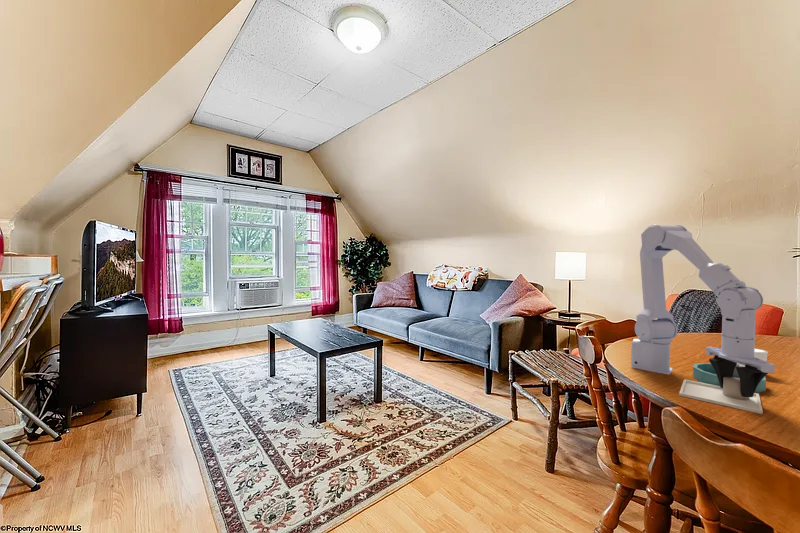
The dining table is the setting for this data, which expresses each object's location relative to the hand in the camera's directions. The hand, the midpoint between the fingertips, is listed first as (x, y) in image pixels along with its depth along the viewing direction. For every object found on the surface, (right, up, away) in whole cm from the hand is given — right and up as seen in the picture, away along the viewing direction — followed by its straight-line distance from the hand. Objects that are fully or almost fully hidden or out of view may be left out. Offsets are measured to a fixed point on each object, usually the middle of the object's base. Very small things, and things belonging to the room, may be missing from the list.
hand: (735, 392), depth 82 cm
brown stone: (0, -1, 0) cm, 1 cm away
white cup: (+23, -1, +19) cm, 30 cm away
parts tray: (-4, -2, 0) cm, 4 cm away
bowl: (+7, -1, +10) cm, 12 cm away
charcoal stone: (+9, 0, +12) cm, 15 cm away
